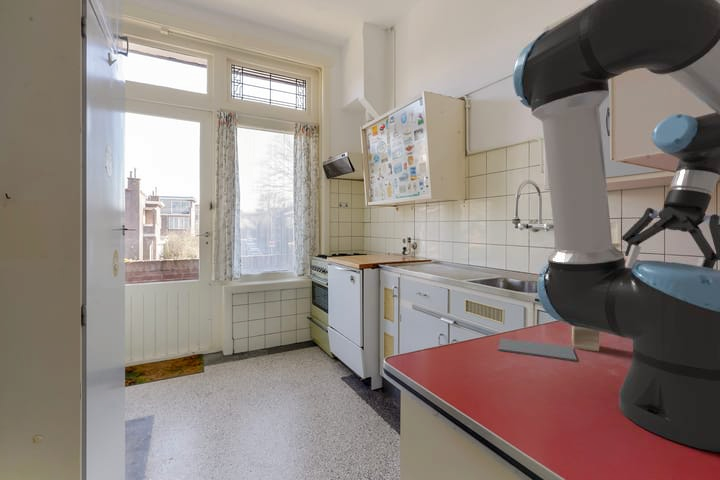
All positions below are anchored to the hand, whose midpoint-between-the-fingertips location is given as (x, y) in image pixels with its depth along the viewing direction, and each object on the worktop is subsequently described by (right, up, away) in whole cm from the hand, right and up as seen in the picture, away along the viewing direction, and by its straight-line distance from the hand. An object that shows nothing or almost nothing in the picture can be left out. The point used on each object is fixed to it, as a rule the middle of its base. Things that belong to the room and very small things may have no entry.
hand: (658, 277), depth 81 cm
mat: (-30, -17, 0) cm, 35 cm away
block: (-17, -17, +2) cm, 24 cm away
